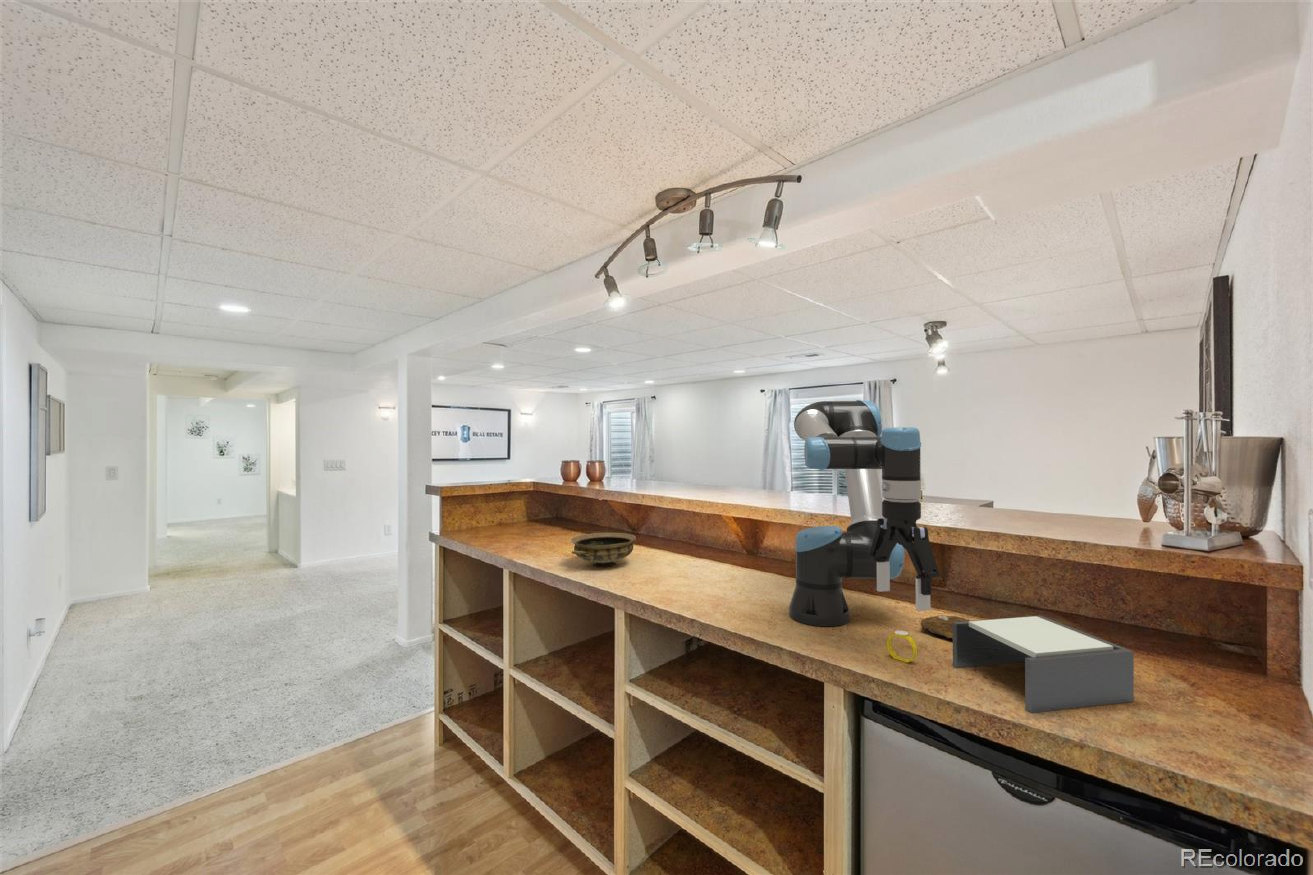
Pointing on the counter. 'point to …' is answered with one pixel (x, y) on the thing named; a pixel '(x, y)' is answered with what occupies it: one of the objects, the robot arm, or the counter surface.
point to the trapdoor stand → (1054, 670)
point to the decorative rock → (941, 624)
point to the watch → (902, 635)
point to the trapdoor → (1038, 636)
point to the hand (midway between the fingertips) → (902, 600)
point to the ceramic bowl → (603, 547)
